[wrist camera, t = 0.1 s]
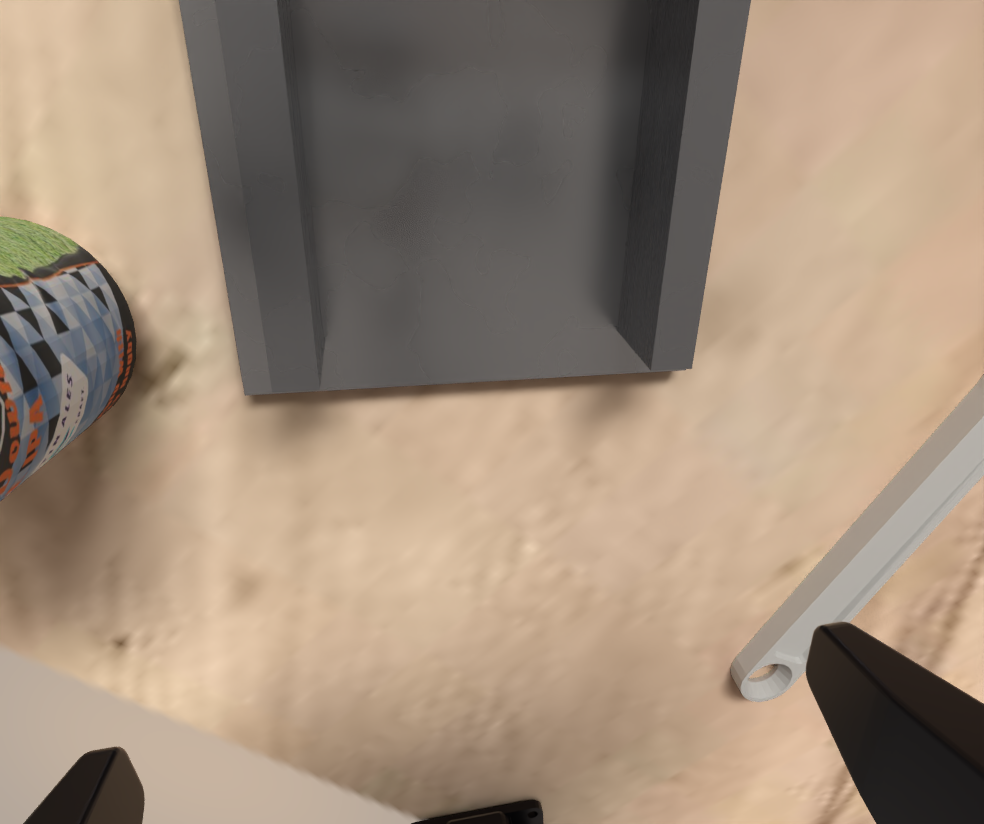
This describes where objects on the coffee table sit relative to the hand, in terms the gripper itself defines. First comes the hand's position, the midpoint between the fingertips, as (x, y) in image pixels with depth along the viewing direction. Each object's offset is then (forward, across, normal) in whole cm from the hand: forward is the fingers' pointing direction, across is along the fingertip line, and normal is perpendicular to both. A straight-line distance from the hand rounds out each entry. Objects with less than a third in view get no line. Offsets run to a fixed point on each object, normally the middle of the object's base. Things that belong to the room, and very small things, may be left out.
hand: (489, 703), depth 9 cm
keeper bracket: (+15, -2, -5) cm, 16 cm away
